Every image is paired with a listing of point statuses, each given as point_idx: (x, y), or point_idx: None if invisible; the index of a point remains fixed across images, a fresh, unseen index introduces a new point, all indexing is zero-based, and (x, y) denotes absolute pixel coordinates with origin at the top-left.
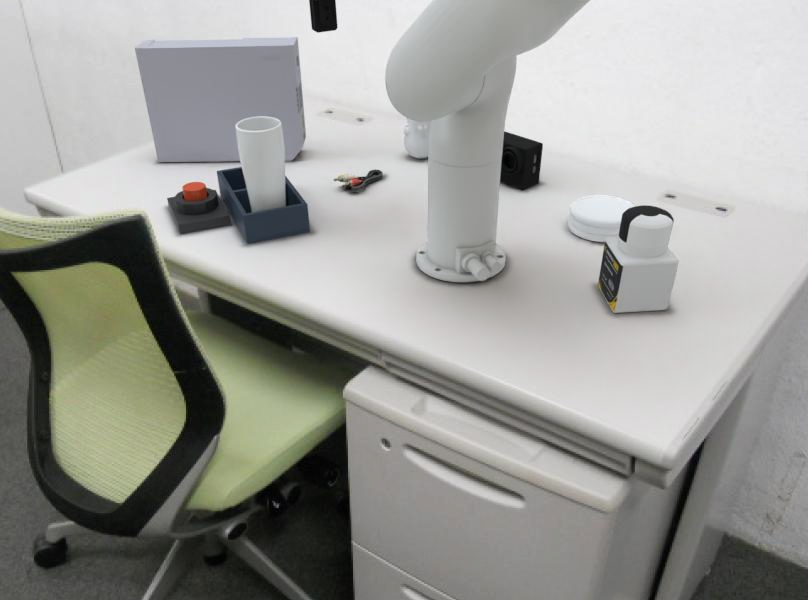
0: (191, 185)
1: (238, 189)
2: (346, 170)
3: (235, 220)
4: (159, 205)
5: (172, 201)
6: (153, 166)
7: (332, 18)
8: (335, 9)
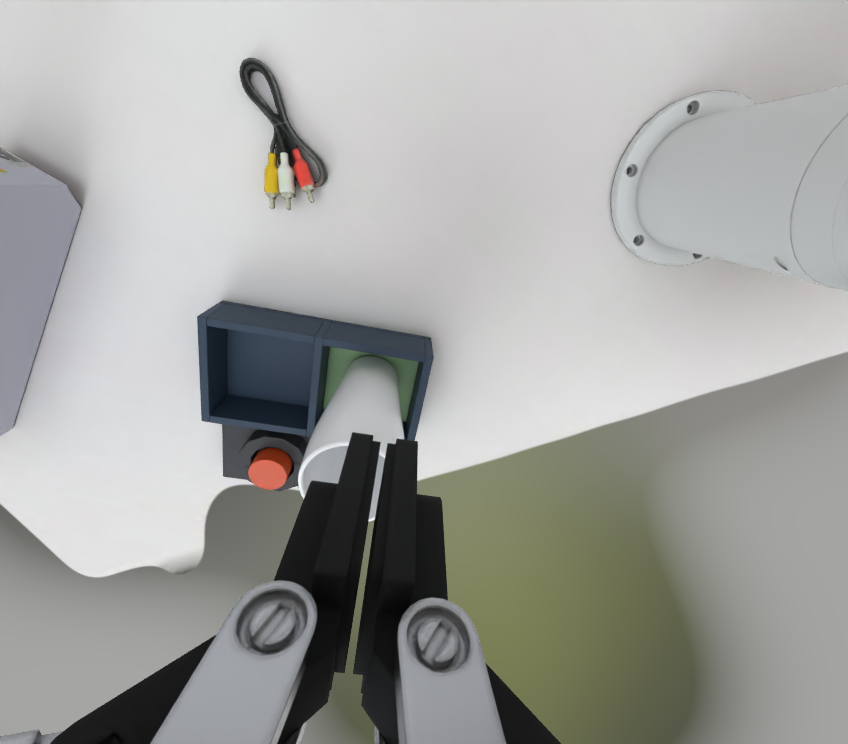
0: (262, 477)
1: (225, 375)
2: (185, 122)
3: None
4: (214, 473)
5: (241, 474)
6: (30, 437)
7: (441, 514)
8: (414, 516)
